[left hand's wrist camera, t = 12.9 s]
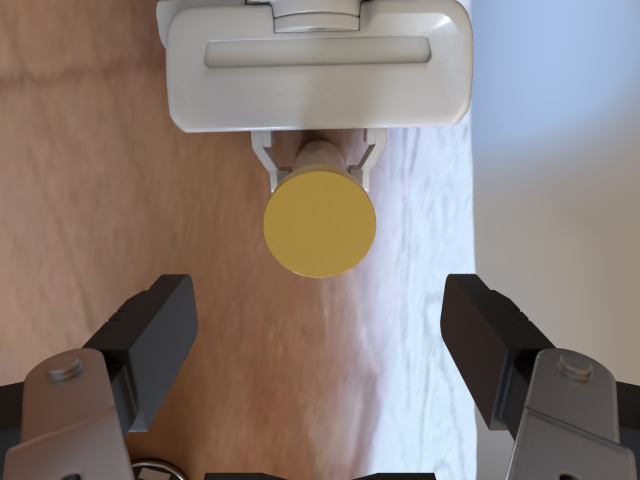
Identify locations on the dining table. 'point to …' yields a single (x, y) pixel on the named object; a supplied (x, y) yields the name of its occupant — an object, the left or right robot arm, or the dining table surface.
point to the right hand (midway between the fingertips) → (320, 191)
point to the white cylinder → (320, 155)
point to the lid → (319, 221)
